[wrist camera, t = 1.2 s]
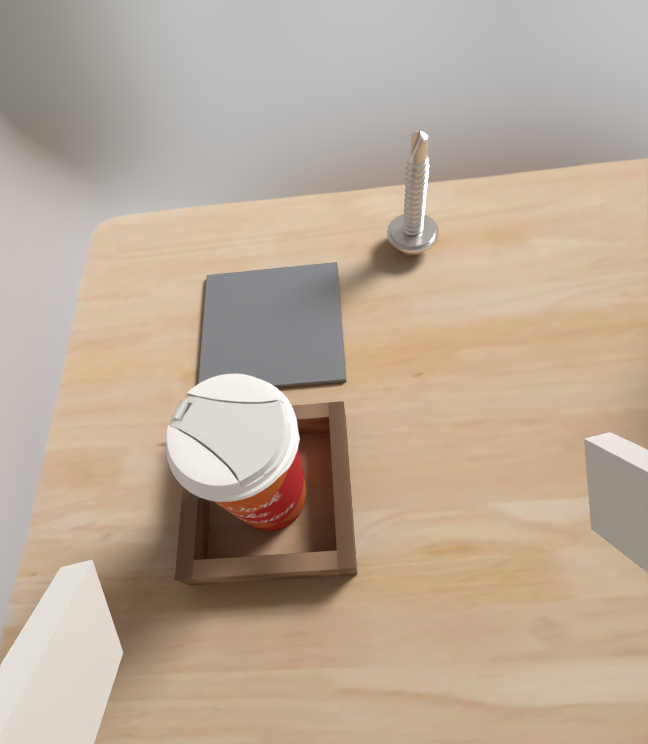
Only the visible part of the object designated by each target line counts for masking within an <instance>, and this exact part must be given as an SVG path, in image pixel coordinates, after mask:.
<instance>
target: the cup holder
mask: <svg viewBox="0 0 648 744" xmlns="http://www.w3.org/2000/svg"><path fill="white" fill-rule="evenodd" d="M292 408H293V410H294V413H295V416H296V419H297V426H298V432H299V434H305V433H317V432H330V443H331V460H332V477H333V495H334V512H335V530H336V547H337V551H322V552H307V553H292V554H277V555H263V556H248V557H233V558H218V559H207V542H208V525H209V508H210V500H206V499H203V498H200V497H198V496H196V495H194V494H192V493H190V492H189V491H188V490H187V489H185V488H184V487H183V492H182V503H181V515H180V527H179V539H178V551H177V562H176V574H175V580H177V581H180V582H183V583H185V584H188V585H196V584H212V583H227V582H243V581H258V580H274V579H289V578H305V577H320V576H336V575H351V574H357V564H356V550H355V537H354V523H353V510H352V497H351V483H350V470H349V456H348V443H347V429H346V416H345V409H344V402H331V403H319V404H307V405H295V406H292Z"/></svg>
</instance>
